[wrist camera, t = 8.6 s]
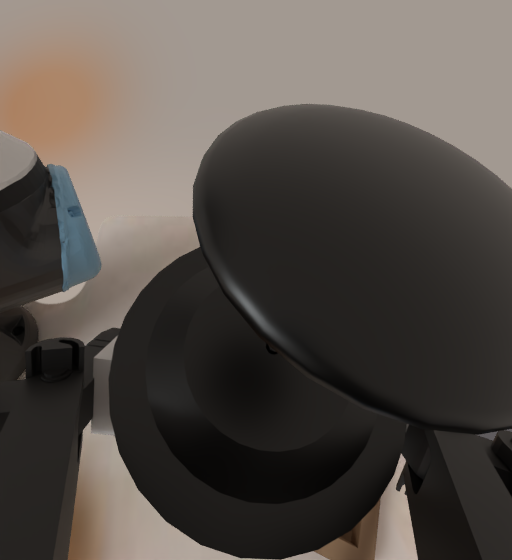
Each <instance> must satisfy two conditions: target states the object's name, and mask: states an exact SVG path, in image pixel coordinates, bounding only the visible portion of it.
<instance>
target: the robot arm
mask: <svg viewBox="0 0 512 560" xmlns="http://www.w3.org/2000/svg"><path fill="white" fill-rule="evenodd" d="M100 269H101V260H100V257H99V254H98V251H97V248H96V245H95V243H94V240H93V237H92V234H91V232H90V229H89V226H88V224H87V221H86V218H85V216H84V213H83V210H82V208H81V205H80V202H79V200H78V197H77V194H76V192H75V189H74V186H73V184H72V181H71V179H70V177H69V174H68V171H67V169H66V168H64V167H63V166H55V165H53V164H49V165H47V167H45V166H44V165H43V164H42V162H41V160H40V159H39V157H38V155H37V154H36V152H35V151H34V149H33V148H32V147H31V146H30V145H29V144H28V143H27V142H25V141H22V140H20V139H18V138H16V137H14V136H12V135H10V134H7V133H5V132H3V131H1V130H0V560H68V552H69V544H70V536H71V528H72V520H73V512H74V504H75V496H76V488H77V480H78V472H79V464H80V456H81V448H82V436H83V430H84V428H85V427H86V426H87V424H88V423H89V422H90V420H91V419H92V421H91V433H94V434H104V435H114V436H115V434H114V430H113V426H112V422H111V418H110V410H109V381H108V378H109V372H110V367H111V361H112V355H113V349H114V344H115V342H116V339H117V337H118V334H119V332H120V329H119V328H111V329H109V330H106V331H104V332H102V333H100V334H99V335H98V336H97V337H95V338H94V340H92V341H90V342H89V343H88V344H87V346H84V343H83V342H82V341H80V340H79V339H74V338H54V339H48V340H44V341H41V342H38V343H37V341H38V329H37V325H36V322H35V320H34V318H33V317H32V315H31V314H30V313H29V312H28V311H27V310H26V309H24V308H23V307H21V305H24V304H27V303H29V302H32V301H35V300H38V299H41V298H44V297H47V296H50V295H53V294H55V293H58V292H61V291H62V292H65V291H66V290H68V289H69V288H70V287H72V286H75V285H77V284H80V283H82V282H85V281H87V280H90V279H92V278H94V277H95V276H96V275H97V274H98V273H99V271H100ZM25 368H26V379H23V380H16V379H17V378H18V377H19V376H20V375H21V374H22V372H23V371H24V370H25ZM401 453H402V455H403V456H404V458H405V459H406V463H405V466H404V468H403V470H402V473H401V475H400V478H399V480H398V483H397V486H396V490H397V491H399V492H400V489H401V487H402V485H404V484H405V487H406V491H405V495H407V498H408V504H409V510H410V516H411V521H412V527H413V533H414V538H415V544H416V550H417V556H418V560H512V432H510V431H505V430H501V431H498V432H497V434H496V436H495V438H494V440H493V441H492V440H489V439H486V438H483V437H480V436H477V435H475V434H466V433H456V432H447V431H437V430H427V429H421V428H418V427H415V426H412V425H409V424H407V425H406V433H405V441H404V446H403V449H402V452H401Z"/></svg>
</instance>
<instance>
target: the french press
mask: <svg viewBox="0 0 512 560" xmlns="http://www.w3.org/2000/svg"><path fill="white" fill-rule="evenodd" d="M193 220H194V223H195V227H196V231H197V235H198V239H199V243H200V247H199V248H197V249H195V250H193V251H191V252H189V253H187V254H185V255H183V256H181V257H179V258H178V259H176V260H175V261H174V262H172V263H171V264H170V265H168V266H167V267H166V268H164V269H163V270H162V271H160V272H159V273H158V274H157V275H156V276H155V277H154V278H153V279H152V280H151V281H150V283H149V284H148V285H147V286H146V287H145V288H144V289H143V290H142V291H141V292H140V294H139V296H138V297H137V299H136V300H135V302H134V303H133V305H132V307H131V308H130V310H129V311H128V313H127V315H126V316H125V319H124V321H123V324H122V326H121V329H120V332H119V334H118V337H117V339H116V342H115V344H114V349H113V355H112V361H111V367H110V372H109V378H108V381H109V410H110V418H111V422H112V426H113V430H114V434H115V438H116V442H117V446H118V450H119V453H120V455H121V457H122V459H123V461H124V463H125V465H126V467H127V469H128V471H129V473H130V475H131V477H132V479H133V480H134V482H135V484H136V486H137V488H138V490H139V491H140V492H141V493H142V494H143V496H144V497H145V498H146V499H147V500H148V501H149V502H150V504H151V505H152V506H153V507H154V508H155V509H156V510H157V512H158V513H159V514H160V515H161V516H162V517H163V518H164V520H165V521H166V522H168V523H169V524H171V525H172V526H174V527H175V528H177V529H178V530H180V531H181V532H183V533H184V534H186V535H187V536H188V537H190V538H191V539H193V540H194V541H196V542H197V543H199V544H200V545H203V546H206V547H209V548H212V549H215V550H218V551H221V552H224V553H227V554H230V555H233V556H236V557H239V558H255V559H280V560H281V559H284V558H288V557H292V556H296V555H300V554H304V553H308V552H311V551H315V550H319V549H320V548H322V547H324V546H326V545H327V544H329V543H331V542H332V541H334V540H336V539H337V538H339V537H341V536H343V535H344V534H346V533H348V532H349V531H351V530H352V529H353V528H354V527H355V526H356V525H357V524H358V523H359V522H360V521H361V520H362V519H363V518H364V517H365V516H366V515H367V514H368V513H369V512H370V511H371V510H372V508H373V507H374V506H375V505H376V504H377V502H378V501H379V499H380V497H381V496H382V494H383V492H384V491H385V489H386V487H387V486H388V484H389V482H390V481H391V479H392V477H393V476H394V473H395V470H396V467H397V464H398V461H399V458H400V455H401V452H402V449H403V446H404V441H405V433H406V425H407V424H409V425H412V426H415V427H418V428H421V429H427V430H437V431H447V432H456V433H466V434H476V435H478V434H484V433H490V432H496V431H501V430H507V429H512V189H511V188H510V187H509V186H508V185H507V184H506V183H504V182H503V181H502V180H501V179H500V178H499V177H498V176H497V175H495V174H494V173H493V172H491V171H490V170H488V169H487V168H486V167H484V166H483V165H482V164H480V163H479V162H478V161H476V160H475V159H473V158H472V157H470V156H469V155H467V154H466V153H464V152H462V151H461V150H459V149H458V148H456V147H454V146H453V145H451V144H449V143H447V142H445V141H444V140H441V139H440V138H438V137H436V136H434V135H432V134H430V133H428V132H426V131H423V130H421V129H419V128H417V127H414V126H412V125H410V124H407V123H404V122H401V121H399V120H396V119H393V118H389V117H387V116H384V115H380V114H376V113H372V112H367V111H364V110H359V109H352V108H346V107H340V106H333V105H317V104H301V105H289V106H282V107H277V108H273V109H269V110H265V111H261V112H256V113H254V114H252V115H250V116H248V117H245V118H243V119H241V120H239V121H237V122H235V123H234V124H232V125H231V126H230V127H229V128H227V129H226V130H225V131H224V132H222V133H221V134H220V135H218V137H217V138H216V139H215V141H214V142H213V143H212V145H211V146H210V148H209V149H208V150H207V152H206V153H205V155H204V157H203V159H202V161H201V164H200V167H199V170H198V173H197V176H196V179H195V182H194V185H193Z"/></svg>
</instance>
